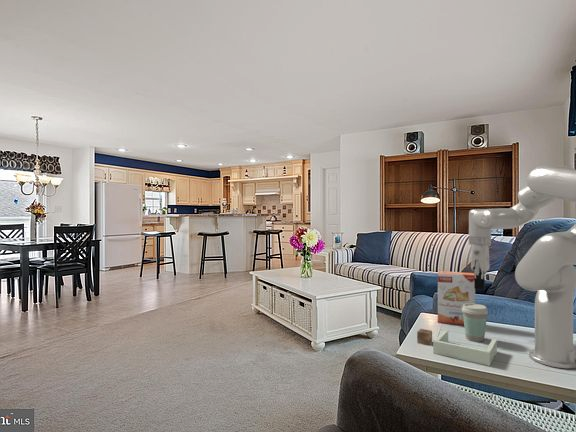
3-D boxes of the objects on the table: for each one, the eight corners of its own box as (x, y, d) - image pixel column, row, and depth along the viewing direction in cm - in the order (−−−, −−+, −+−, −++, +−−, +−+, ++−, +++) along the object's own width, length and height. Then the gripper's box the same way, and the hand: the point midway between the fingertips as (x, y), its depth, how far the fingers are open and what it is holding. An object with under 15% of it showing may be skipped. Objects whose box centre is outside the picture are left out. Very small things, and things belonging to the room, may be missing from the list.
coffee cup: (481, 335, 133) (481, 303, 133) (492, 343, 124) (492, 309, 124) (458, 334, 134) (457, 302, 133) (467, 343, 125) (467, 309, 125)
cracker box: (437, 322, 148) (437, 272, 147) (437, 318, 153) (437, 270, 153) (475, 327, 142) (475, 274, 142) (474, 322, 148) (474, 272, 147)
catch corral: (496, 351, 117) (496, 339, 117) (489, 365, 106) (489, 352, 106) (444, 340, 127) (444, 329, 127) (433, 353, 116) (433, 340, 116)
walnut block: (432, 341, 127) (432, 330, 127) (429, 345, 123) (429, 333, 123) (420, 339, 129) (420, 328, 129) (417, 342, 126) (417, 331, 126)
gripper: (487, 243, 128) (487, 294, 129) (494, 240, 140) (493, 286, 140) (464, 242, 133) (464, 291, 133) (472, 239, 145) (472, 284, 145)
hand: (479, 288), depth 137 cm, fingers closed
